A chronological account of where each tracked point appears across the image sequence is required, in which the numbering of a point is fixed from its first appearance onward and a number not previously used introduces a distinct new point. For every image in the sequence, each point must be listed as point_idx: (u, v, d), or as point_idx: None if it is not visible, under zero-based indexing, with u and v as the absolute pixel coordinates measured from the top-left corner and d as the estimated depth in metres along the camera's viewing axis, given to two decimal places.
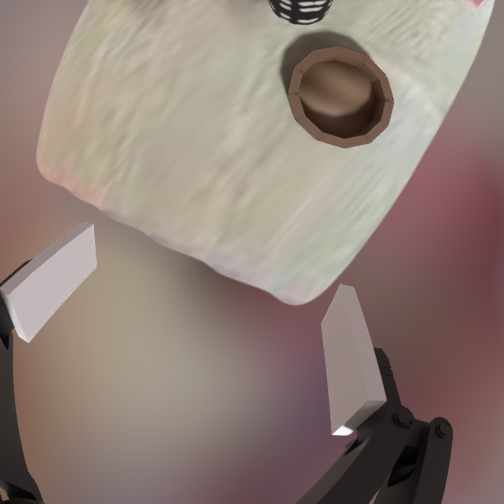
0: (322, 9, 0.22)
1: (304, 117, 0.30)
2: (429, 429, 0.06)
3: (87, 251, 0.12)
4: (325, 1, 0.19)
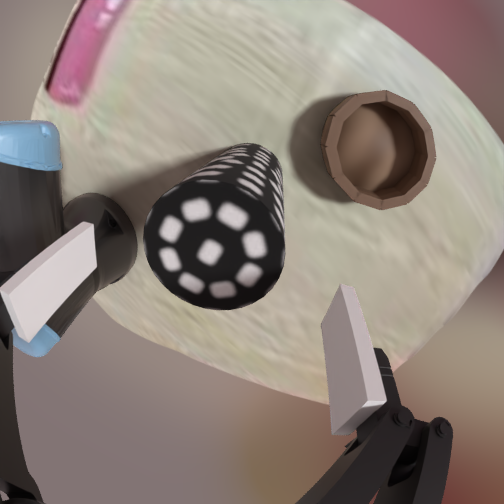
0: (275, 164, 0.27)
1: (405, 196, 0.27)
2: (429, 429, 0.06)
3: (87, 251, 0.12)
4: (275, 170, 0.24)
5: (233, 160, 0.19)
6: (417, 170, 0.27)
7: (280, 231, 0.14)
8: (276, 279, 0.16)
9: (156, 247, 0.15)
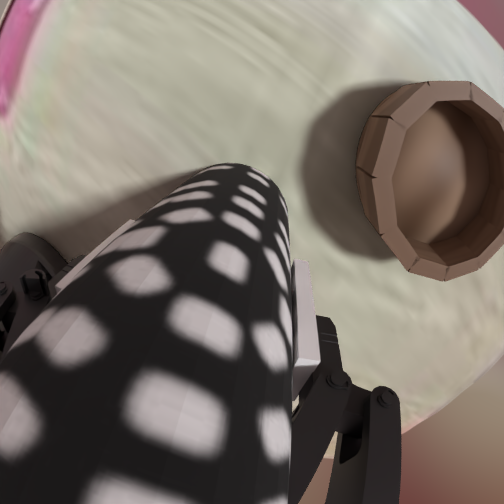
0: (276, 212, 0.14)
1: (479, 258, 0.15)
2: (370, 400, 0.07)
3: None
4: (276, 236, 0.12)
5: (144, 265, 0.06)
6: (494, 215, 0.14)
7: None
8: None
9: None
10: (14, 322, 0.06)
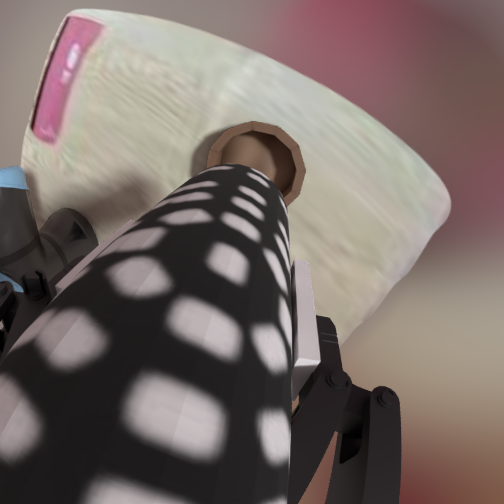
0: (276, 213, 0.14)
1: None
2: (370, 400, 0.07)
3: None
4: (276, 237, 0.12)
5: (143, 267, 0.06)
6: (292, 183, 0.38)
7: None
8: None
9: None
10: (14, 321, 0.06)
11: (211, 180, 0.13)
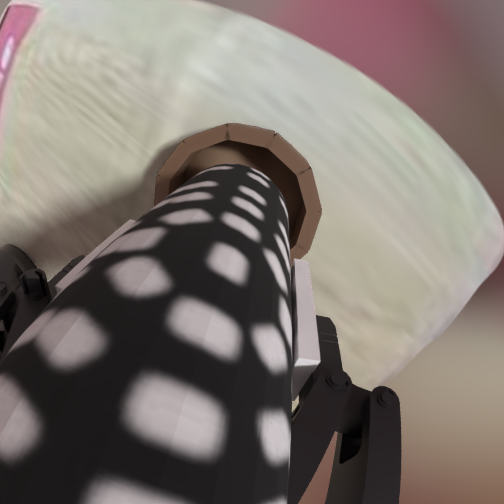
0: (276, 213, 0.14)
1: None
2: (370, 400, 0.07)
3: None
4: (276, 237, 0.12)
5: (143, 267, 0.06)
6: (297, 228, 0.23)
7: None
8: None
9: None
10: (14, 322, 0.06)
11: (211, 180, 0.13)
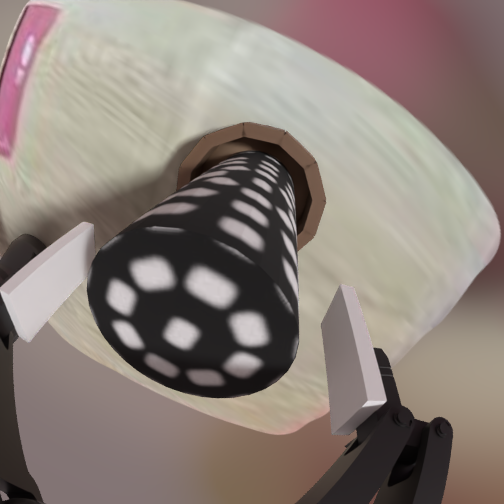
0: (286, 178, 0.21)
1: None
2: (429, 429, 0.06)
3: (87, 251, 0.12)
4: (286, 187, 0.18)
5: (223, 179, 0.13)
6: (304, 216, 0.26)
7: (292, 312, 0.08)
8: (283, 372, 0.10)
9: (107, 318, 0.10)
10: None
11: (243, 157, 0.20)
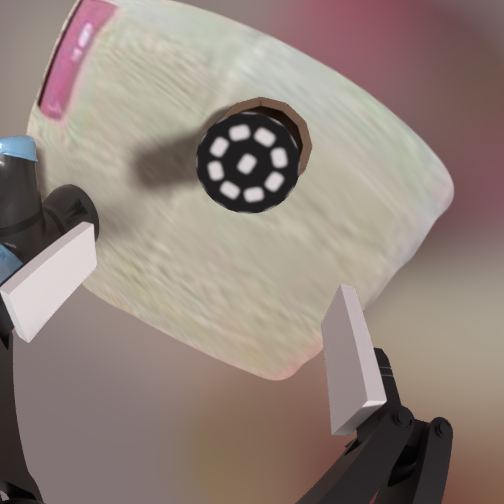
0: None
1: None
2: (429, 429, 0.06)
3: (87, 251, 0.12)
4: None
5: None
6: None
7: (297, 148, 0.20)
8: (294, 185, 0.21)
9: (206, 161, 0.21)
10: None
11: None
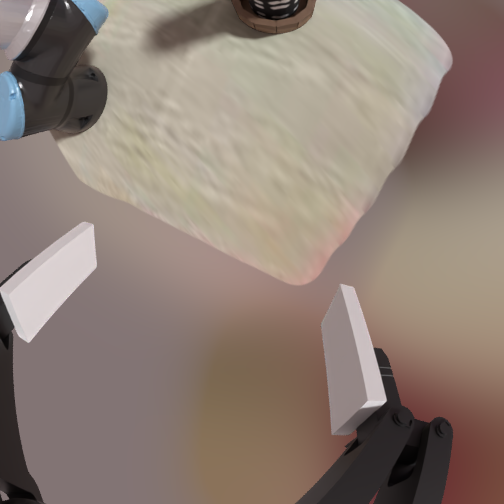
0: None
1: (295, 17, 0.29)
2: (429, 429, 0.06)
3: (87, 251, 0.12)
4: None
5: None
6: None
7: None
8: None
9: None
10: None
11: None
